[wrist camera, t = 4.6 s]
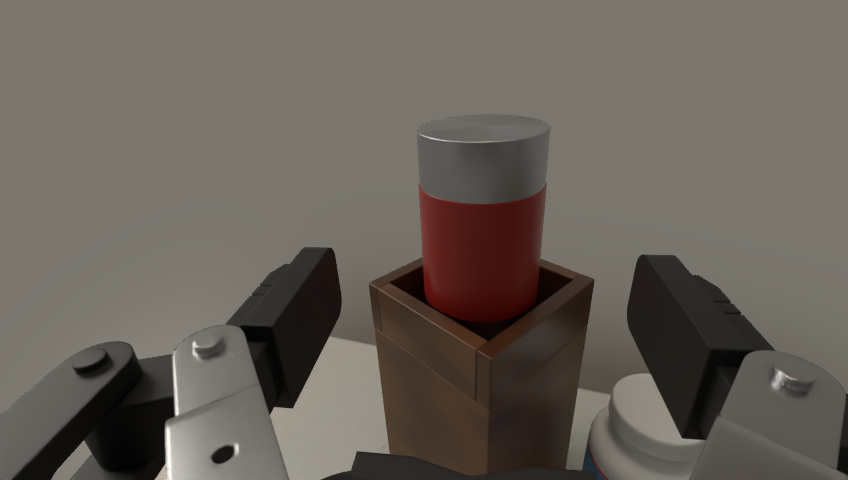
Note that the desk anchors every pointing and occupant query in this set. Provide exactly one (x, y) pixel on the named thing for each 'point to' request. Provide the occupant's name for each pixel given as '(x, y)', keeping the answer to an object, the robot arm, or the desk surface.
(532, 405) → the can holder
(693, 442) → the pill bottle
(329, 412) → the desk surface
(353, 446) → the desk surface
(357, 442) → the desk surface
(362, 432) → the desk surface
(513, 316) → the can
